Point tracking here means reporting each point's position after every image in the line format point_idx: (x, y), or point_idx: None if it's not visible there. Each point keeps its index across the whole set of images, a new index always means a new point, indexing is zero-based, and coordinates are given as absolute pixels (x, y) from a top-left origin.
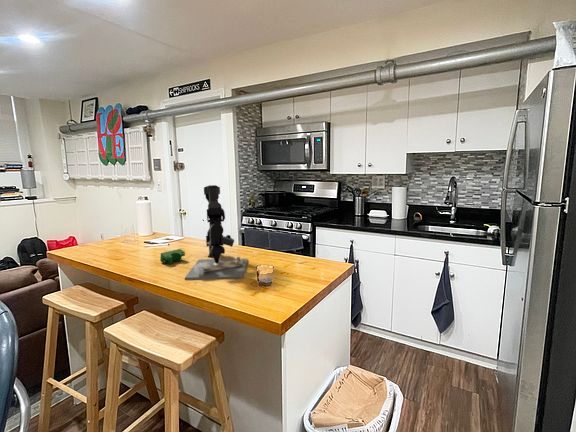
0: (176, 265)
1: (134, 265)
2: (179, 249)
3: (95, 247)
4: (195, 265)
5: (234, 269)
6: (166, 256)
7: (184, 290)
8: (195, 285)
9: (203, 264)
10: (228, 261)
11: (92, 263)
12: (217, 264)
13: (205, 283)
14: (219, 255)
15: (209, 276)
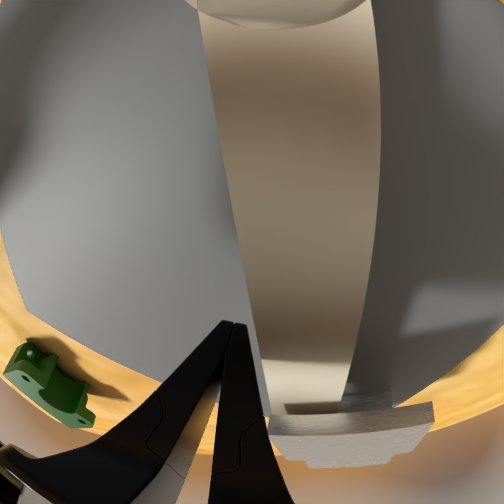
0: (103, 382)
1: (108, 421)
2: (8, 378)
3: (17, 388)
4: (331, 467)
5: (450, 114)
6: (86, 424)
7: (459, 417)
8: (455, 400)
9: (345, 454)
10: (262, 181)
11: (99, 433)
12: (339, 362)
13: (477, 373)
14: (276, 461)
15: (439, 370)
